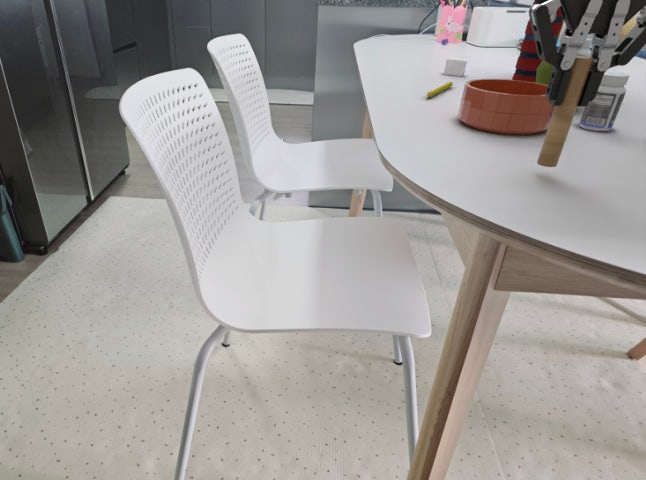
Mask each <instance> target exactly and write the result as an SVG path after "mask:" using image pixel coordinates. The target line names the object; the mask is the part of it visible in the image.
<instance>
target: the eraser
mask: <svg viewBox="0 0 646 480" xmlns="http://www.w3.org/2000/svg"><path fill="white" fill-rule="evenodd" d="M445 60H446V61H445V65H444V69H443V70H444V71H443V75H445V76H457V77H464V76H465V72H466V71H465V70H466V68H467V67H466V66H467V63H468V60H467V59H460V58H459V59H458V58H446V59H445Z"/></svg>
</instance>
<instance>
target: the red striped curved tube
mask: <svg viewBox="0 0 646 480" xmlns="http://www.w3.org/2000/svg"><path fill="white" fill-rule="evenodd" d="M546 1H549V0H533V2H532V5H534V4H542V3H544V2H546ZM528 19H529V20H528V21H527V23H526V25H525V26H526V27H525V30H524V38H523V39H522V42H521V45H520V49H519V52H520V53H519V55H518V57H517V59H516V63H515V67H514V68H515V70H514V71H515V72H514V73H513V75H512V79H511V80H521V81H529V82H536V75H537V68H538V67H539V65H540V64H541V62H542V61H543V60H541V59H539V57H538V53H537V48H536V44H535V39H534V35H533V30H532V25H531V21H530V18H528ZM564 24H565V21H564V19H563V16H562V13H561V11H560V8H558V10H557V12H556V19H555V20H554V21H553V22H552V23H551V25H552V30H553V35H554V40H555V45H556V46H557V45H558V42H559V37H560V34H561V31H562V30H563V27H564Z"/></svg>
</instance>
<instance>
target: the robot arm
mask: <svg viewBox="0 0 646 480" xmlns="http://www.w3.org/2000/svg"><path fill="white" fill-rule="evenodd" d="M558 8H560V11H561V13H562V16H563V19H564V24H565V27H564V29H563V32H562V34H561V37H560V40H559V47H558V49H557V45H555V40H554V35H553V30H552V25H551V23H552V22H553V21H554V20H555V19H556V12H557V10H558ZM638 13H639V14H638ZM636 15H637V17H636V20H635V22H636V23H635V25H634V26H633V27H632V28H631V29H630V31H629V32H627V34H626V35H624V37H623V38H622V40H621V41H620V38H621V35H622V31H623V27H625V25H626V24H628V23H629V22H630V21H631V20H632V18H634V17H635V16H636ZM528 16H529V19H530V21H531V25H532V30H533V35H534V39H535V44H536V48H537V53H538V57H539V59H541V60H543V61H545V62H547V63H549V64H551V65H552V73H551V76H550V79H549V83H548V86H547V89H546V92H545V94H546V98H548V99H549V100H548V102H549V103H550V104H551V105H553V106H560V105H561V103H562V100H563V97H564V94H565V91H566V88H567V85H568V82H569V79H570V76H571V73H572V71H570V70H569V69H570V68H571V67H572V65H573V63H574V61H575V58H576V56H577V54H578V51H579V49H580V48H581V47H582V46H583V44H584V42H585V40H586V39H588V38H587V37H588V35H592V38H591V39H592V45H591V55H590V57H593V58H594V60H593V63H592V66H591V69H590V72H589V74H588V77H587V80H586V83H585V86H584V89H583V92H582V95H581V97H580V100H579V103H578V106H577V108H585V107H586V106H587V105H588V103H589V102H592V101H593V100H594V99H595V97H596V95H597V91H598V89H599V86H600V84H601V81H602V78H603V75H604V73H605V72H608V70H609V69H611V68H615V67H618V66H621V67H624V66H626V65H628V64H629V63H630V62H631V61H632V60H633V58H634V57H635V56H637V54H638V53H640V51H641V50H642V49H643V48H644V47H645V46H646V0H549V1H546V2H544V3H542V4H534V5H533V4H532V5H531V6H530V7H529V9H528Z"/></svg>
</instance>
